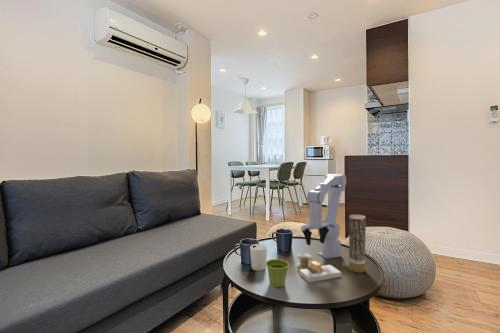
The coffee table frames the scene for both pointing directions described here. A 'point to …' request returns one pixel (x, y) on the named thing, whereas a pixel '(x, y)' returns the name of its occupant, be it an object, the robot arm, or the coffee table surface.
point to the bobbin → (304, 261)
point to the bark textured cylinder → (357, 243)
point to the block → (315, 267)
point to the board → (325, 273)
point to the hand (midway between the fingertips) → (315, 243)
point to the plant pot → (277, 272)
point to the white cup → (258, 257)
